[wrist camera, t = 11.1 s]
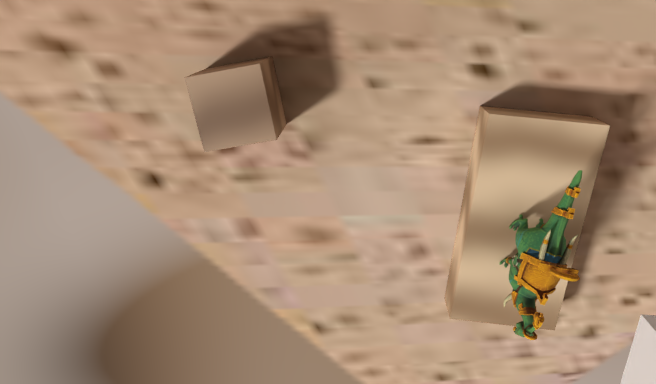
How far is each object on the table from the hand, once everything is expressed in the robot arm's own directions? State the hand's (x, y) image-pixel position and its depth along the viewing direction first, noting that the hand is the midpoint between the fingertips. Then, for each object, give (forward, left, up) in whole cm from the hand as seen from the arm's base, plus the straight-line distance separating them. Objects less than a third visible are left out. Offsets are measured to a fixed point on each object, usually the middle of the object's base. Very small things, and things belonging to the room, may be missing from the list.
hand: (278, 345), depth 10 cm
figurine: (+8, +14, -28) cm, 32 cm away
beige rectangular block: (+8, +14, -30) cm, 34 cm away
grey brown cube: (+1, -7, -30) cm, 31 cm away
